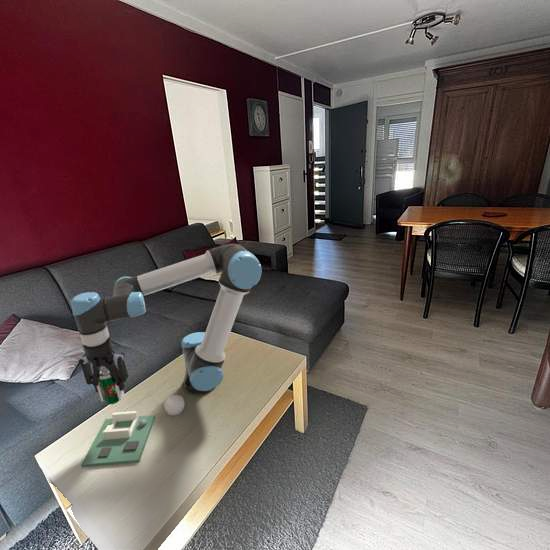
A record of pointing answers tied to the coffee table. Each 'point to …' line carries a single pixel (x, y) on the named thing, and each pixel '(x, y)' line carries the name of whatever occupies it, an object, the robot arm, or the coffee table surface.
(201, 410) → the coffee table surface
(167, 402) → the seamed sphere
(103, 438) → the board
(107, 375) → the soda can
